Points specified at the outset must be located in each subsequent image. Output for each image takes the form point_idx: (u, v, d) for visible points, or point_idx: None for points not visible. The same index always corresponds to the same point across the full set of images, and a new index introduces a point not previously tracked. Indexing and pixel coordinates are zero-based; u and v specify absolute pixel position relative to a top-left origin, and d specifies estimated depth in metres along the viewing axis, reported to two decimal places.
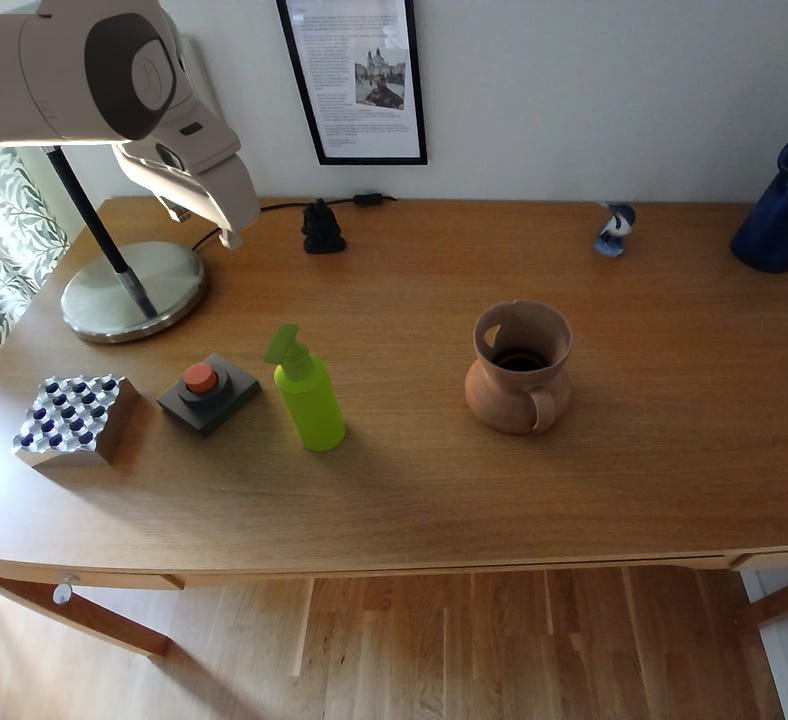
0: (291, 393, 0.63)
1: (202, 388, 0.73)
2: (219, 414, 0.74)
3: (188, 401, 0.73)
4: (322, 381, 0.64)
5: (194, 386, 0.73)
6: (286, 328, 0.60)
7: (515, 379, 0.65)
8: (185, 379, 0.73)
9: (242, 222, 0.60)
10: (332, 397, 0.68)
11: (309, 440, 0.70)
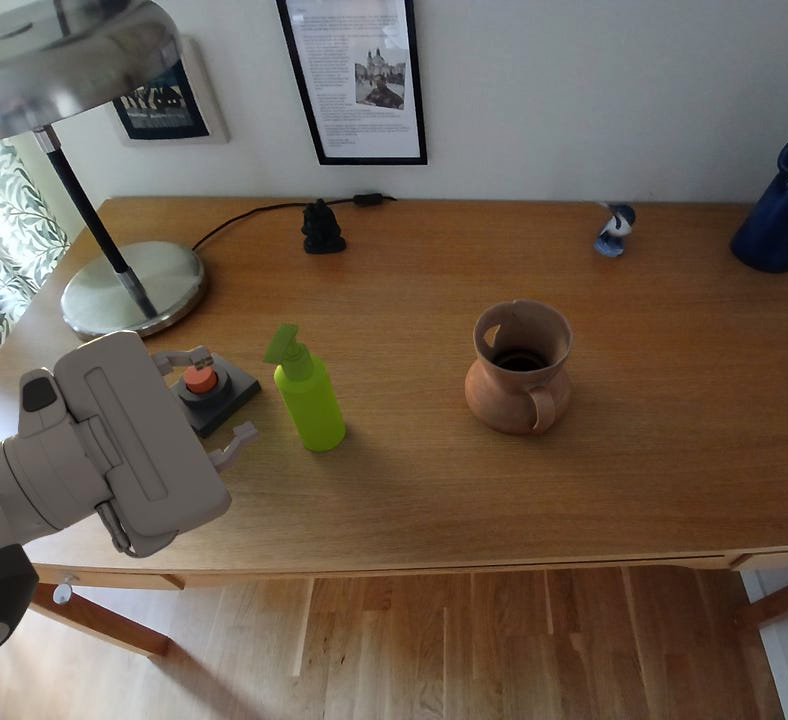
0: (291, 393, 0.63)
1: (202, 388, 0.73)
2: (219, 414, 0.74)
3: (188, 401, 0.73)
4: (322, 381, 0.64)
5: (194, 386, 0.73)
6: (286, 328, 0.60)
7: (514, 379, 0.65)
8: (185, 379, 0.73)
9: None
10: (332, 397, 0.68)
11: (309, 440, 0.70)
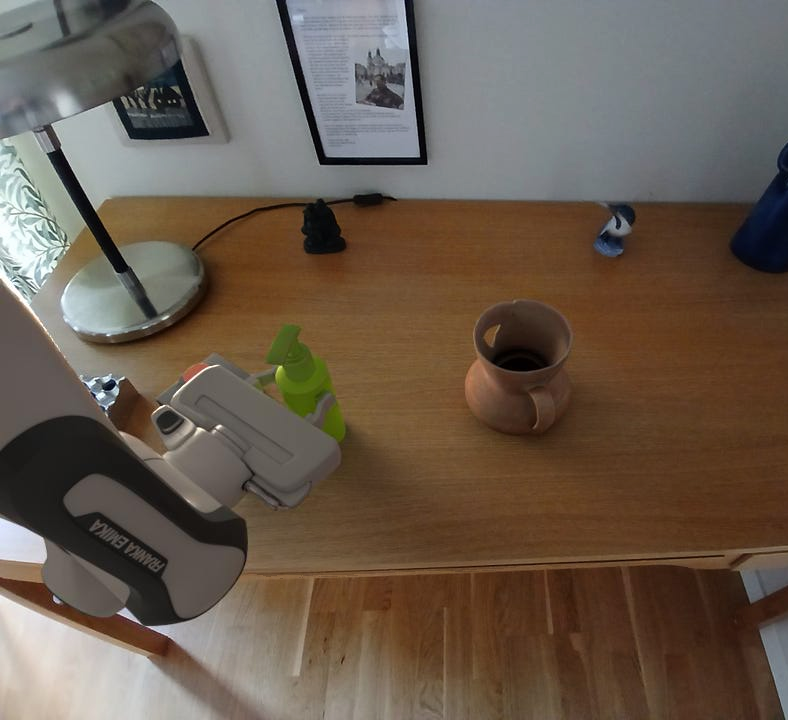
0: (292, 393, 0.63)
1: None
2: None
3: None
4: (323, 382, 0.64)
5: None
6: (288, 329, 0.59)
7: (514, 379, 0.65)
8: (185, 379, 0.73)
9: None
10: None
11: None
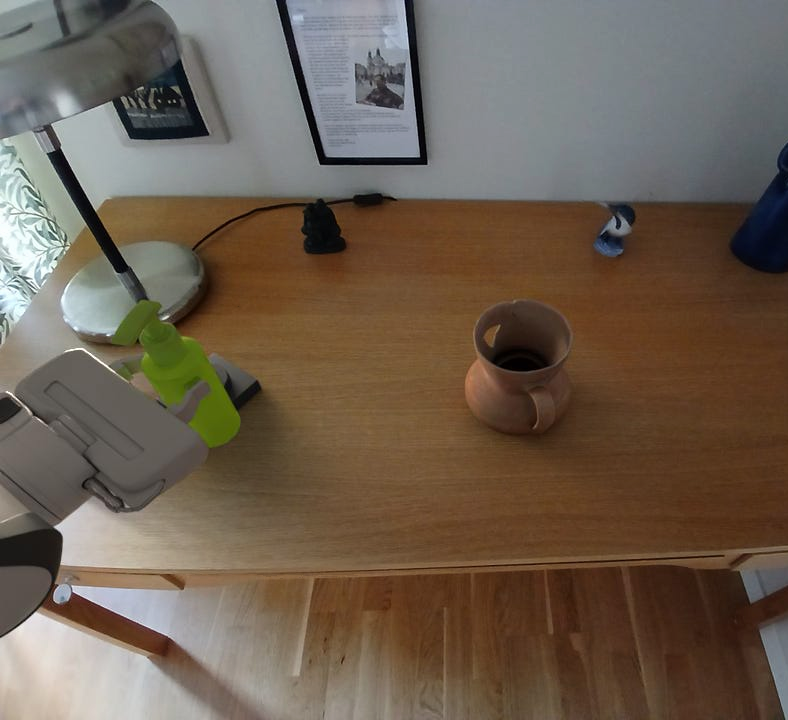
0: (157, 380, 0.55)
1: None
2: None
3: None
4: (196, 368, 0.57)
5: None
6: (145, 305, 0.52)
7: (514, 379, 0.65)
8: None
9: None
10: (214, 386, 0.60)
11: None
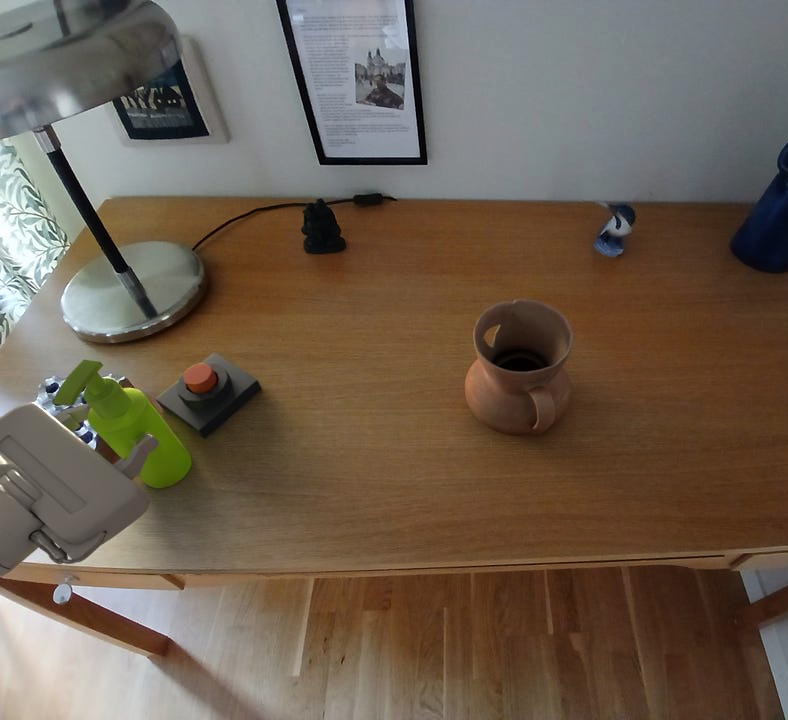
0: (102, 432, 0.59)
1: (202, 388, 0.73)
2: (219, 414, 0.74)
3: (188, 401, 0.73)
4: (139, 419, 0.60)
5: (194, 386, 0.73)
6: (86, 365, 0.56)
7: (514, 379, 0.65)
8: (185, 379, 0.73)
9: None
10: (161, 433, 0.64)
11: (143, 477, 0.67)
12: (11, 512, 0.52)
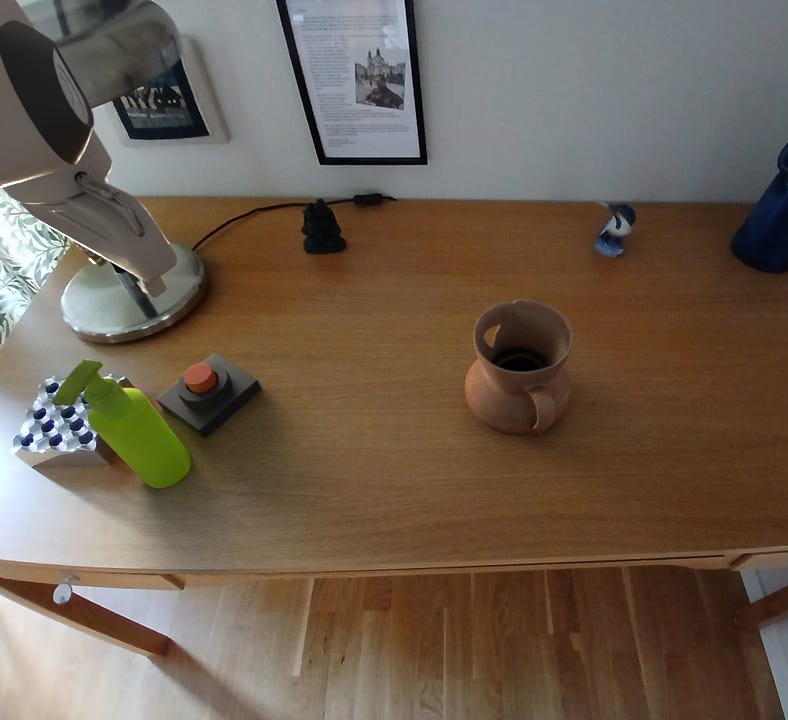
0: (102, 432, 0.59)
1: (202, 388, 0.73)
2: (219, 414, 0.74)
3: (188, 401, 0.73)
4: (139, 419, 0.60)
5: (194, 386, 0.73)
6: (86, 365, 0.56)
7: (514, 379, 0.65)
8: (185, 379, 0.73)
9: None
10: (160, 433, 0.64)
11: (143, 477, 0.67)
12: (106, 161, 0.51)
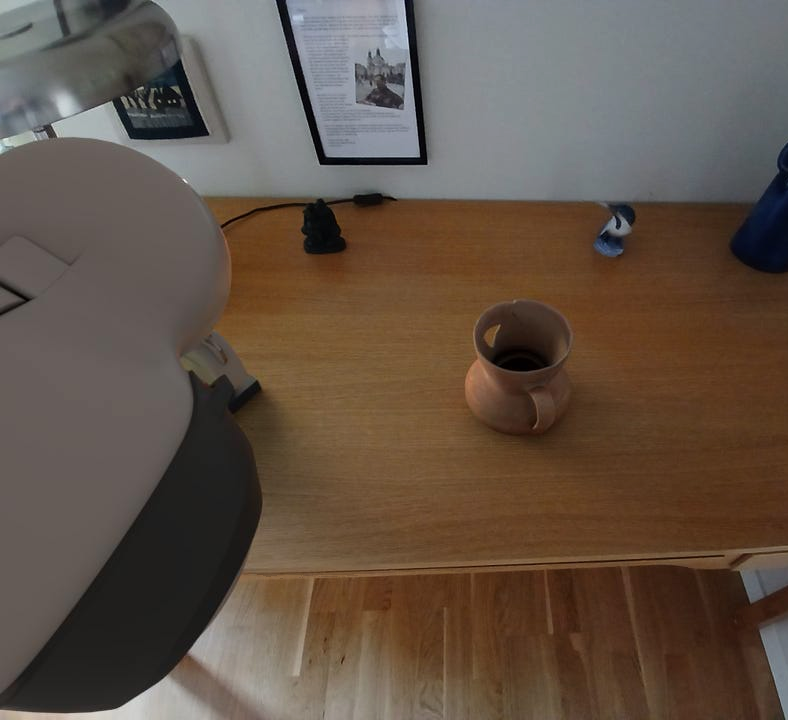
0: None
1: None
2: None
3: None
4: None
5: None
6: None
7: (514, 379, 0.65)
8: None
9: None
10: None
11: None
12: None
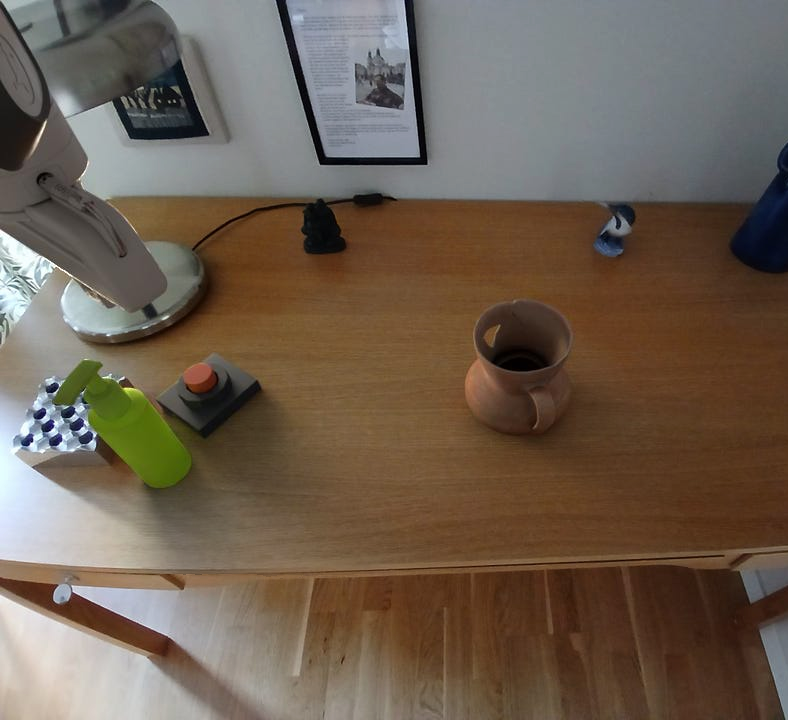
0: (102, 432, 0.59)
1: (202, 388, 0.73)
2: (219, 414, 0.74)
3: (188, 401, 0.73)
4: (139, 419, 0.60)
5: (194, 386, 0.73)
6: (86, 365, 0.56)
7: (514, 379, 0.65)
8: (185, 379, 0.73)
9: None
10: (161, 433, 0.64)
11: (143, 477, 0.67)
12: (81, 159, 0.40)
